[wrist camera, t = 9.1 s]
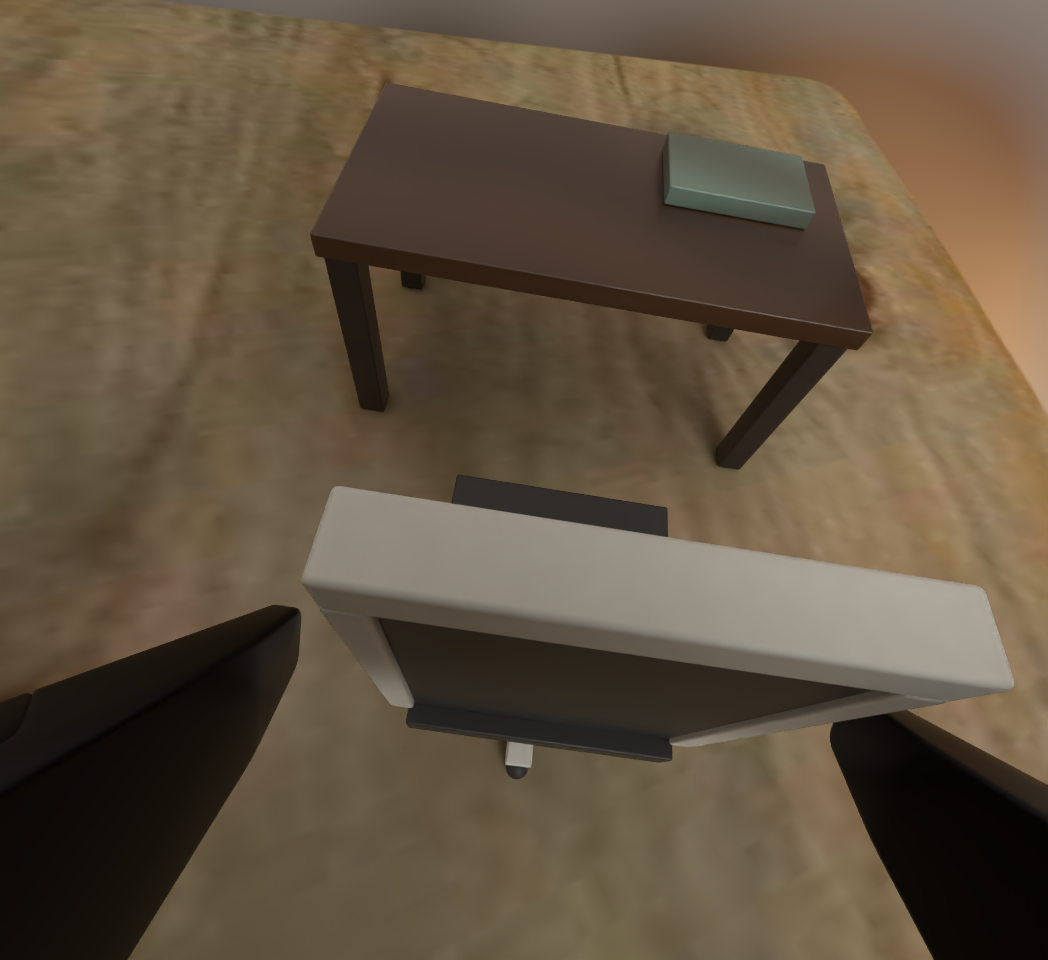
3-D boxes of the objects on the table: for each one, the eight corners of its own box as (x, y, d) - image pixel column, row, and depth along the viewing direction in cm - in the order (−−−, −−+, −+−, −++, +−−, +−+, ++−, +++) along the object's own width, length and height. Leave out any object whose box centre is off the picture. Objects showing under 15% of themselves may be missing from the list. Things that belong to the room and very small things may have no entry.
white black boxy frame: (642, 796, 15) (1109, 816, 4) (384, 761, 15) (201, 691, 4) (643, 556, 19) (899, 244, 8) (436, 524, 18) (412, 155, 8)
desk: (743, 474, 21) (890, 316, 14) (354, 411, 20) (303, 212, 13) (728, 326, 25) (836, 145, 18) (403, 270, 24) (383, 60, 17)
